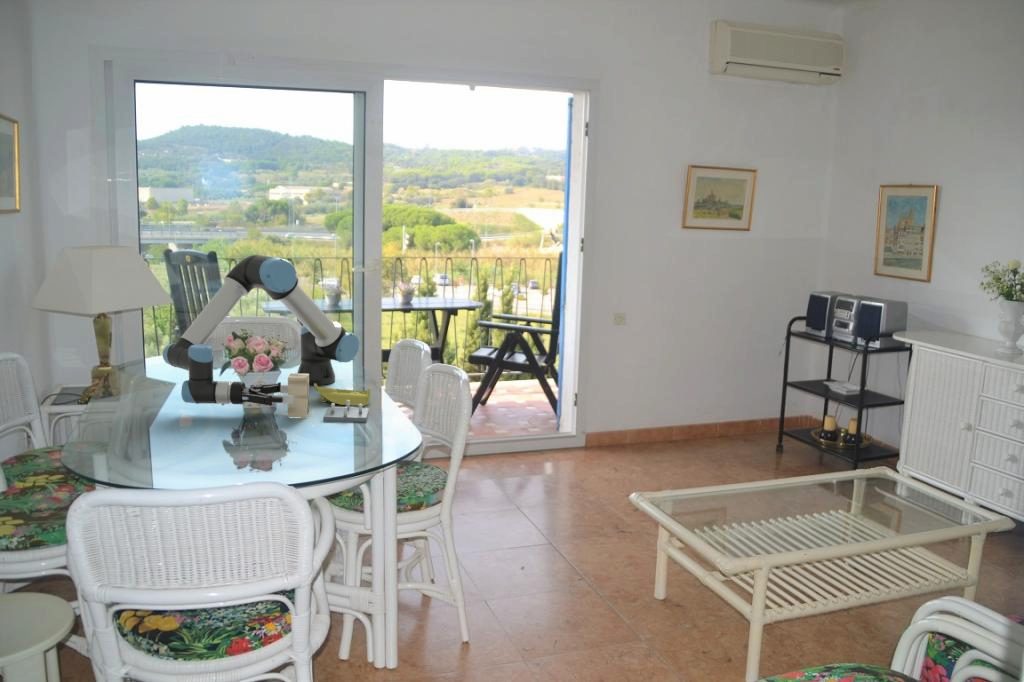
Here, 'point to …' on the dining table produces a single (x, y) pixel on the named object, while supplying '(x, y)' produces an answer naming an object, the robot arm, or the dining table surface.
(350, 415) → the pin plate
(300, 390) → the birch block
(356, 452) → the dining table surface
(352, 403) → the plastic component
